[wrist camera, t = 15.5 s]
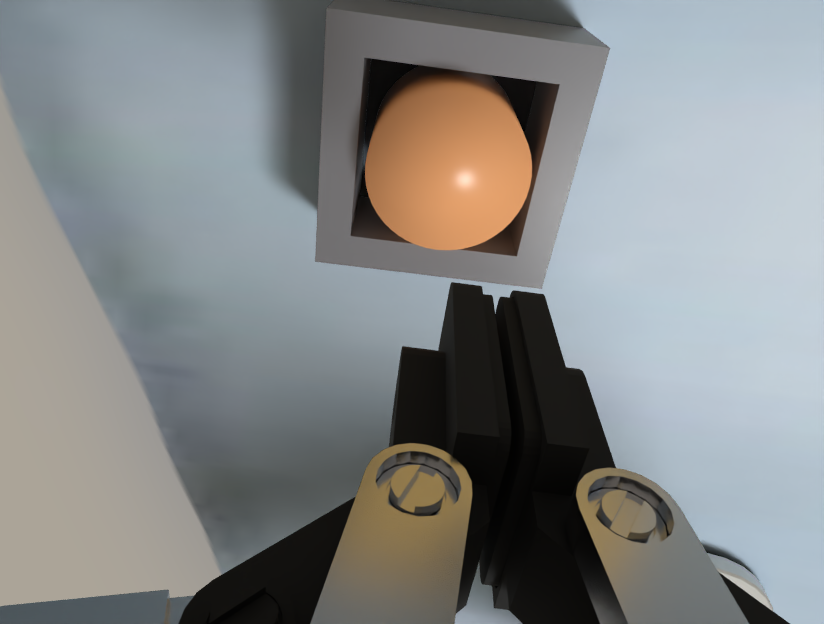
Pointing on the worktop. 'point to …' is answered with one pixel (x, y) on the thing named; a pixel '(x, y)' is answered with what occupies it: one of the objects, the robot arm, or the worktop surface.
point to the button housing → (465, 51)
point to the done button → (447, 159)
